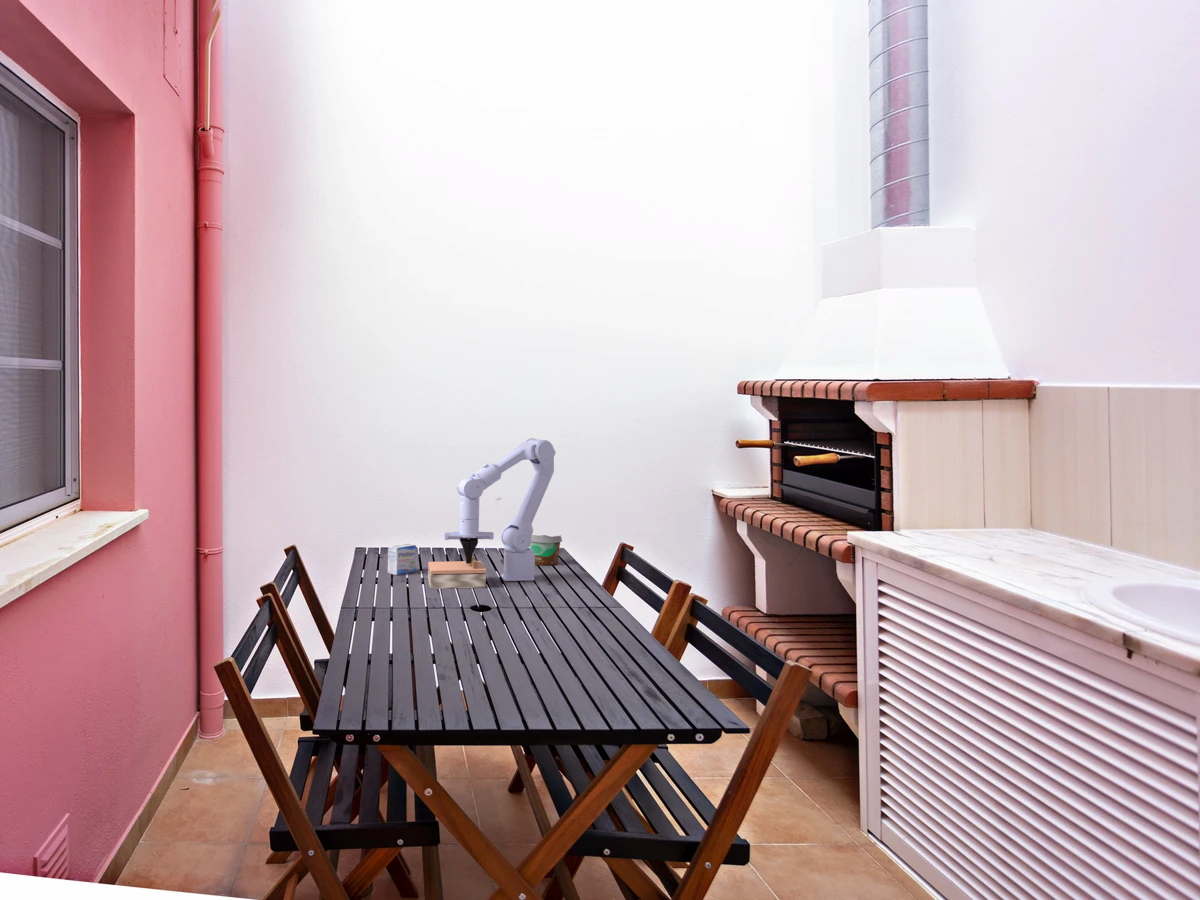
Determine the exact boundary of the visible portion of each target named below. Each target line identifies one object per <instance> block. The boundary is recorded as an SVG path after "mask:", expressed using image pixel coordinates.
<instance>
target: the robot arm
mask: <svg viewBox="0 0 1200 900" xmlns="http://www.w3.org/2000/svg"><path fill="white" fill-rule="evenodd" d="M555 455H556V450H555V448H554V446H553V444H552V443H551V442H550V441H549V440H547V439H538V438H537V439H536V438H532V437H531V438H529V439H527V440H525V442H522V443H520V444H519V445H518V446H517V447H516V448H514V449H513V450H511V451H510V452H509V453H508V454H506V455H505V456H504V457H503V458H501V459H500V460H499V461H498V462H496V463H490V462H489V463H488V464H487V463H484V464H483V465H482V468H481V469H478V471H476V472H475V473H473V472H472V473H471V474H469V476H470V477H466V478H463V479H461V481H459V483H458V486H457V487H456V490H457V493H458V494H459V498H460V499H459V501H460V502H459V531H453V532H452V531H450V532H444V537H443V540H445V541H449V540H459V542H460V544H461V546H462V550H463V553H464V557H465V561H466V564H471V559H472V556H474V552H475V550H476V548H477V546H478V543H479V540H494V532H493V531H492V532H491V531H480V497H481V496H482V495H483V493H484V491H485V490H487V489H488V488H489V487H491V486H492V485H493V484H495V483H496V482H498V481H499V480H500V479H501V478H502V474H503V473H504V472H506V471H507V470H510V468H512V467H513V466H515V465H517V464H519V463H520V462H521V461H524V460H527V461H528V460H529V462H530V463H531V464H532V467H533V469H534V474H533V476H532V479H531V481H530V483H529V485H528V488H527V490H526V492H525V494H524V497H523V499H522V502H521V504H520V505H519V508H518V511H517V514H516V516H515V517H514V518H513V519H511V520H510V521H509V523H508V525H507V527H505V528H504V529H503V530H502V532H501V534H500V538H501V539H500V540H501V543H502V544H503V545H504V548H503V573H502V574H500V577H501V579H502V580H503V582H518V581H519V582H520V581H521V582H522V581H527V582H528V581H535V580H536V579H535V572H536V570H535V568H536V567H535V566H536V565H535V555H534V551H533V550H530V545H531V537H532V535H533V532H534V528H533V521H534V519H535V517H536V514H537V512H538V510H539V508H540V505H541V502H542V501H543V498H544V495H545V494H546V491H547V490H548V487H549V484H550V482H551V480H552V477H553V475H554V472H555V460H554V459H555Z"/></svg>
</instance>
